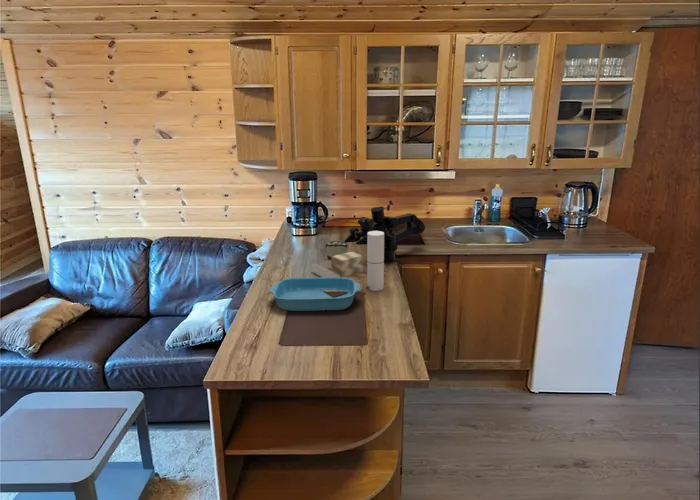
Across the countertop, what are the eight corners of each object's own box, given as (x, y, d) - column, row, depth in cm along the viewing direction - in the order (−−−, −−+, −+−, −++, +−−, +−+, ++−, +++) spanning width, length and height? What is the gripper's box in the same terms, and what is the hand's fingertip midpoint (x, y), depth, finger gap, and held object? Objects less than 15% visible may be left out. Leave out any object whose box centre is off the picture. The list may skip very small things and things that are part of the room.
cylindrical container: (364, 289, 205) (364, 234, 197) (371, 283, 211) (371, 230, 203) (379, 291, 202) (380, 236, 194) (386, 286, 208) (386, 232, 200)
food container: (350, 258, 244) (349, 240, 241) (348, 262, 238) (348, 243, 235) (326, 258, 245) (326, 239, 242) (324, 262, 239) (324, 243, 236)
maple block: (352, 267, 228) (352, 251, 225) (362, 271, 221) (362, 255, 219) (332, 272, 221) (331, 256, 218) (341, 277, 215) (341, 260, 212)
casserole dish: (266, 314, 183) (265, 298, 180) (275, 292, 204) (274, 276, 202) (360, 314, 182) (360, 297, 180) (360, 291, 204) (359, 276, 201)
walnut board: (360, 262, 238) (360, 260, 237) (385, 274, 222) (385, 271, 222) (310, 275, 222) (310, 272, 221) (334, 288, 206) (334, 285, 206)
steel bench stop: (316, 271, 223) (315, 263, 222) (340, 283, 207) (339, 275, 206) (311, 272, 221) (311, 264, 220) (335, 285, 206) (335, 276, 205)
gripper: (359, 213, 233) (334, 225, 225) (383, 215, 218) (358, 228, 210) (364, 234, 237) (340, 246, 229) (389, 237, 222) (364, 250, 214)
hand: (350, 242), depth 220 cm, fingers open, 9 cm apart
